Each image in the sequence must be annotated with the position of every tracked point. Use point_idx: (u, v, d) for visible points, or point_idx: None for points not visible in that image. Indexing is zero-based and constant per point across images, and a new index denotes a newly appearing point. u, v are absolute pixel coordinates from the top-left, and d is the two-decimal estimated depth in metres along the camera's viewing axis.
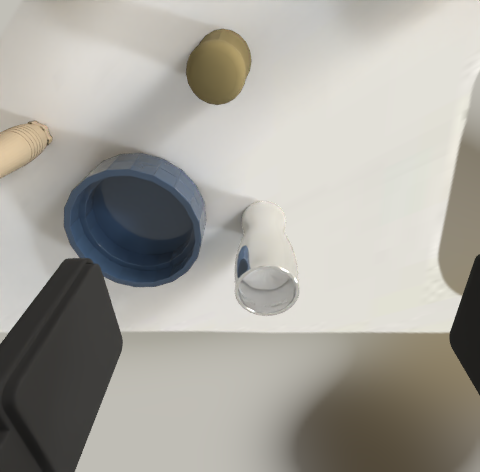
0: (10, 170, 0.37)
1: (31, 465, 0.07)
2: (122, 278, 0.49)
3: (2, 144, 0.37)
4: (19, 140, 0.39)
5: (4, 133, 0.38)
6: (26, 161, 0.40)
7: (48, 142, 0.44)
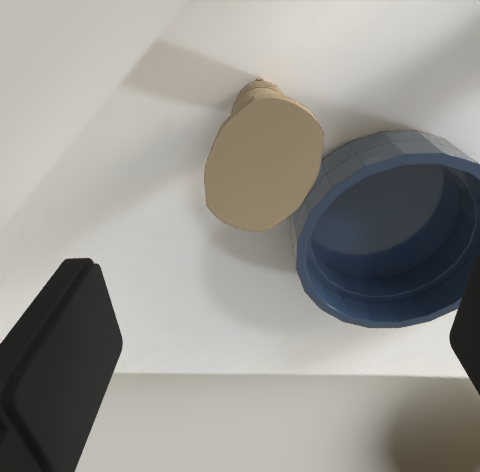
0: None
1: (31, 465, 0.07)
2: (354, 316, 0.33)
3: None
4: None
5: (263, 89, 0.23)
6: None
7: None
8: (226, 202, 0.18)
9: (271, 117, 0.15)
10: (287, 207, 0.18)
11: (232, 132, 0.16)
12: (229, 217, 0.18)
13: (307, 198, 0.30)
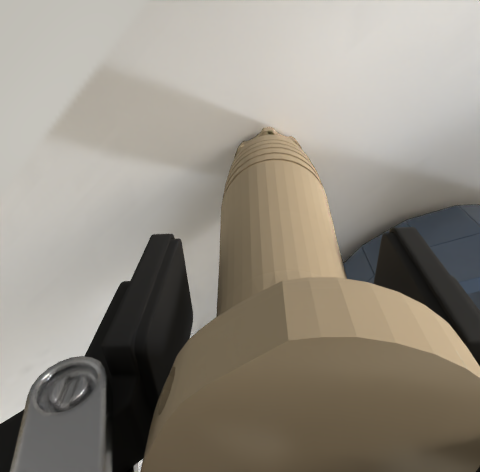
0: None
1: (148, 410, 0.07)
2: None
3: (318, 213, 0.10)
4: (321, 189, 0.12)
5: (281, 169, 0.12)
6: None
7: None
8: None
9: (344, 380, 0.05)
10: None
11: (215, 407, 0.05)
12: None
13: None
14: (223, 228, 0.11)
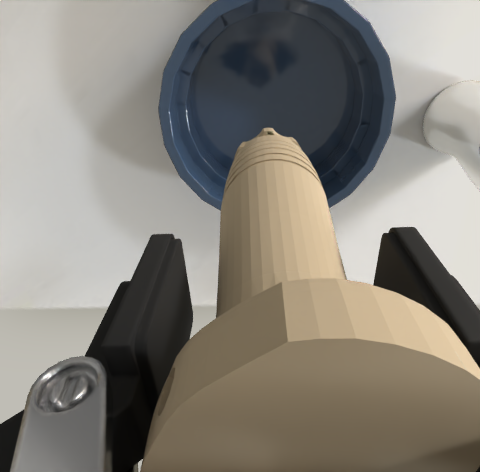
0: None
1: (148, 411, 0.07)
2: None
3: (318, 214, 0.10)
4: (321, 190, 0.12)
5: (280, 169, 0.12)
6: None
7: None
8: None
9: (343, 382, 0.05)
10: None
11: (215, 409, 0.05)
12: None
13: None
14: (223, 229, 0.11)
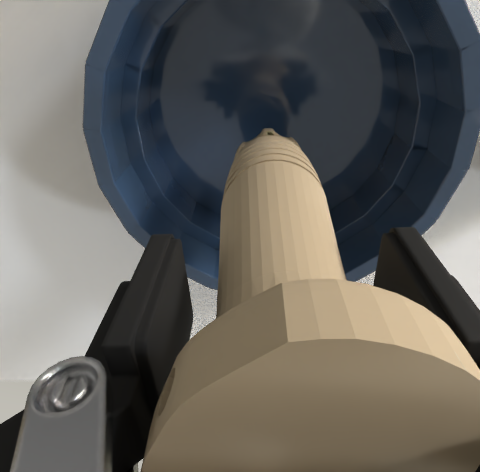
0: None
1: (148, 411, 0.07)
2: None
3: (318, 214, 0.10)
4: (321, 190, 0.12)
5: (280, 170, 0.12)
6: None
7: None
8: None
9: (343, 382, 0.05)
10: None
11: (215, 408, 0.05)
12: None
13: None
14: (223, 229, 0.11)
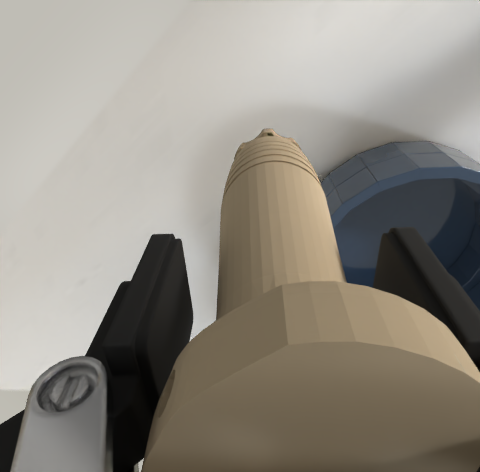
0: None
1: (148, 411, 0.07)
2: None
3: (318, 215, 0.10)
4: (321, 191, 0.12)
5: (280, 171, 0.12)
6: None
7: None
8: None
9: (343, 384, 0.05)
10: None
11: (215, 411, 0.05)
12: None
13: None
14: (223, 230, 0.11)
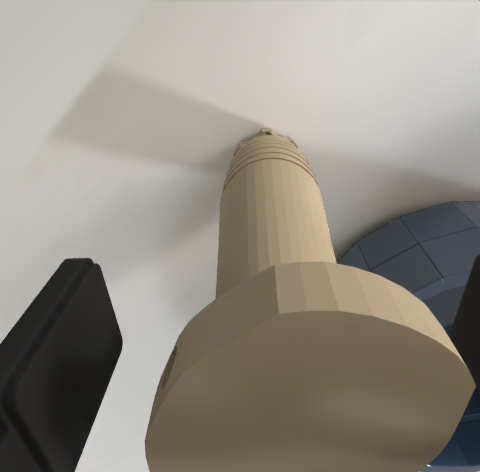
0: None
1: (31, 465, 0.07)
2: None
3: (312, 209, 0.11)
4: (315, 187, 0.13)
5: (277, 167, 0.13)
6: None
7: None
8: None
9: (329, 351, 0.05)
10: None
11: (214, 377, 0.06)
12: None
13: None
14: (222, 223, 0.12)
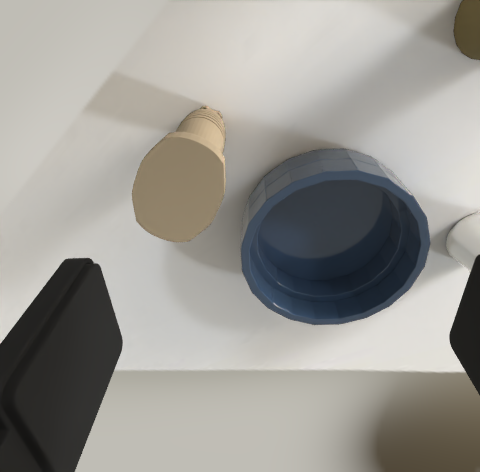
0: None
1: (32, 465, 0.07)
2: (298, 314, 0.37)
3: (208, 135, 0.25)
4: (217, 130, 0.27)
5: (197, 120, 0.27)
6: None
7: None
8: (152, 218, 0.21)
9: (180, 152, 0.19)
10: (202, 222, 0.21)
11: (151, 163, 0.20)
12: (156, 230, 0.22)
13: (250, 209, 0.33)
14: None
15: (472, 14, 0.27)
